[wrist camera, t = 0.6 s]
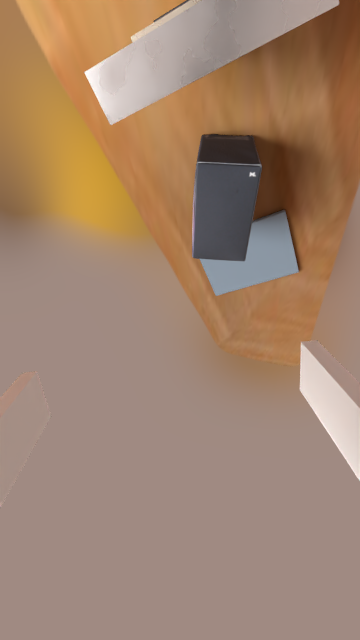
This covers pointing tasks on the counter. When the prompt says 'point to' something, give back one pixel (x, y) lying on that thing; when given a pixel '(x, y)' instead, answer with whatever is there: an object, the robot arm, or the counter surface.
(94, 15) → the counter surface
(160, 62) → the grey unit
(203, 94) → the counter surface
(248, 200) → the small box
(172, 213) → the counter surface
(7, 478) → the robot arm
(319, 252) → the counter surface
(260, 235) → the mat
